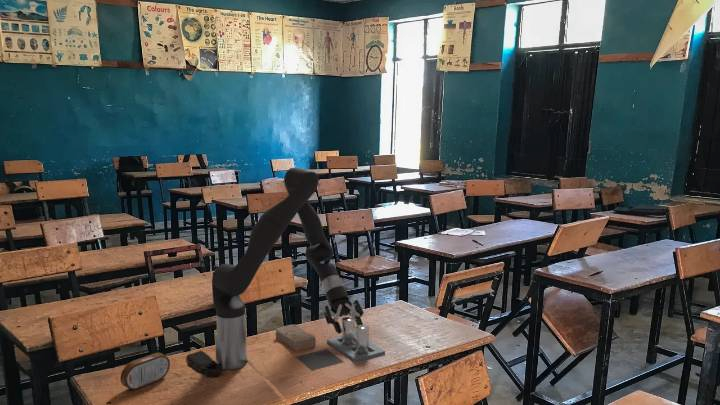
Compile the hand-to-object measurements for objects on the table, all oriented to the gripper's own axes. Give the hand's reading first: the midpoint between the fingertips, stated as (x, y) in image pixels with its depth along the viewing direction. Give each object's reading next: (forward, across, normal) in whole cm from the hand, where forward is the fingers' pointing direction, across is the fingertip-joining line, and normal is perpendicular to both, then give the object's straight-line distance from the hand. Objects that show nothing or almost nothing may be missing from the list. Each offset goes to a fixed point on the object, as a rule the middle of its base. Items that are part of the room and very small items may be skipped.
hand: (350, 330), depth 189 cm
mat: (+8, -15, +1) cm, 17 cm away
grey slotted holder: (+7, 0, +2) cm, 7 cm away
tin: (-2, -67, +12) cm, 68 cm away
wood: (-4, -49, +14) cm, 51 cm away
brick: (-5, -15, +15) cm, 22 cm away
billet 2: (+10, 0, -1) cm, 10 cm away
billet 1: (+4, 0, +6) cm, 7 cm away
